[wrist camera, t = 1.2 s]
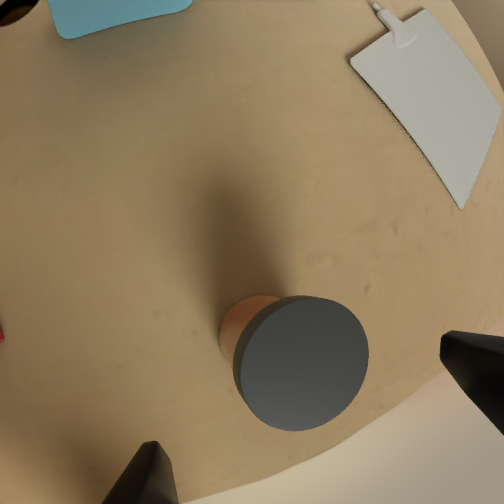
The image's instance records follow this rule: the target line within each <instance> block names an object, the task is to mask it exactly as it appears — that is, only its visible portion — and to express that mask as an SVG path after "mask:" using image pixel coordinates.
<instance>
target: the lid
mask: <svg viewBox="0 0 504 504" xmlns="http://www.w3.org/2000/svg"><path fill="white" fill-rule="evenodd" d="M368 358H369V351H368V342H367V338H366V334H365V332H364V329H363V327H362V325H361V324H360V322H359V320H358V319H357V318H356V316H355V315H354V314H353V313H352V312H351V311H350V310H349V309H347V308H346V307H344V306H343V305H341V304H339V303H337V302H335V301H332V300H328V299H324V298H318V297H312V296H291V297H286V298H283V299H280V300H278V301H275V302H273V303H271V304H269V305H268V306H266V307H265V308H263V309H262V310H261V311H259V312H258V313H257V314H256V315H255V316H254V317H253V318H252V319H251V320H250V321H249V323H248V324H247V325H246V326H245V328H244V330H243V331H242V333H241V335H240V337H239V339H238V342H237V344H236V348H235V351H234V357H233V375H234V380H235V384H236V387H237V389H238V391H239V393H240V395H241V396H242V398H243V399H244V401H245V402H246V404H247V405H248V407H249V408H250V410H251V411H252V412H253V413H254V414H255V415H256V417H258V418H259V419H260V420H261V421H263V422H264V423H266V424H268V425H269V426H272V427H274V428H277V429H281V430H287V431H302V430H308V429H312V428H315V427H318V426H320V425H323V424H325V423H327V422H329V421H330V420H332V419H333V418H335V417H336V416H338V415H339V414H340V413H341V412H342V411H343V410H345V409H346V407H347V406H348V405H349V404H350V403H351V402H352V400H353V399H354V398H355V396H356V395H357V393H358V391H359V390H360V388H361V385H362V383H363V381H364V378H365V375H366V371H367V367H368Z"/></svg>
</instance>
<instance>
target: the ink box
mask: <svg viewBox="0 0 504 504" xmlns="http://www.w3.org/2000/svg"><path fill="white" fill-rule="evenodd" d="M3 340H4V336H3V333H2V330H1V327H0V343H1V342H2V341H3Z"/></svg>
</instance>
